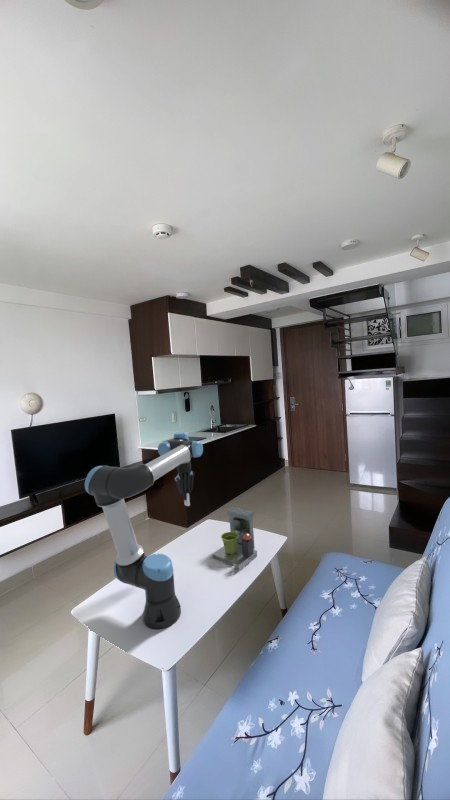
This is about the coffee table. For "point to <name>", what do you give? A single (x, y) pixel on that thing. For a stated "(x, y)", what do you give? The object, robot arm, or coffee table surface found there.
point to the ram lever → (247, 545)
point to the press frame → (240, 525)
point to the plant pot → (230, 542)
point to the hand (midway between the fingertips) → (187, 505)
